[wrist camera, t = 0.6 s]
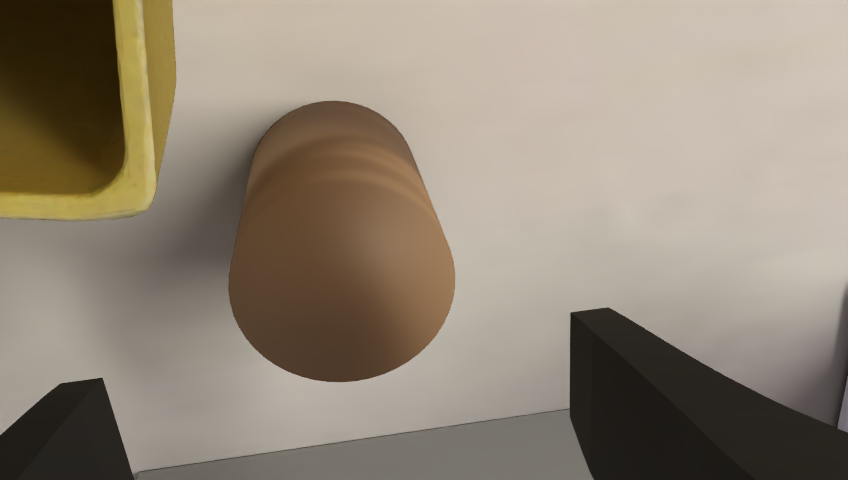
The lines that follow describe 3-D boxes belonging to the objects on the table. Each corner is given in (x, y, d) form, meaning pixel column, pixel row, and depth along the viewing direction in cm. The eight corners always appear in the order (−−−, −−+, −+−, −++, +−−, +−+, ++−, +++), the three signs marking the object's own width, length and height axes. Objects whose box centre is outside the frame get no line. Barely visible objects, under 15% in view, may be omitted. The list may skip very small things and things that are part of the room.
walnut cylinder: (409, 92, 20) (448, 169, 14) (421, 246, 21) (460, 365, 16) (236, 110, 19) (208, 196, 14) (264, 266, 21) (249, 395, 16)
